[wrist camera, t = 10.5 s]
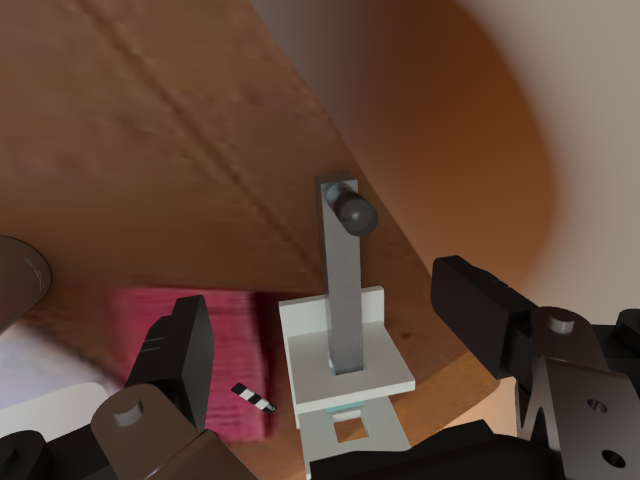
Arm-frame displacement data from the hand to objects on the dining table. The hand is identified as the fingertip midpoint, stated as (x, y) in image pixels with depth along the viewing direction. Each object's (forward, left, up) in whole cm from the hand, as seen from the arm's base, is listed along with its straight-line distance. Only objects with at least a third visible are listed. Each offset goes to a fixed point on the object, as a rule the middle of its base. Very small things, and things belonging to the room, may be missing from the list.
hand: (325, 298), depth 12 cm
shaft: (+5, -13, -25) cm, 29 cm away
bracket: (+5, -32, -31) cm, 44 cm away
